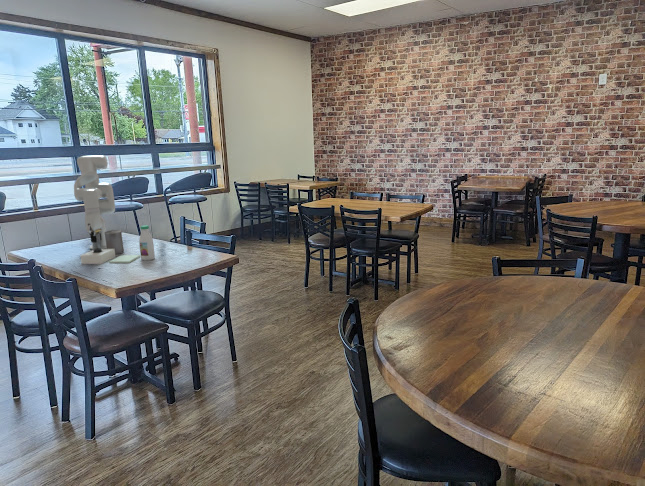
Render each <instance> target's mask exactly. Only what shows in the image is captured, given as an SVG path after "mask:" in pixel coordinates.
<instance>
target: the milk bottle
mask: <svg viewBox="0 0 645 486" xmlns="http://www.w3.org/2000/svg"><path fill="white" fill-rule="evenodd" d="M138 239H139V242H138V243H139V252H140V259H141V260H142V261H150V260H151V261H152V260H154V259H155V257H156V255H155V244H154V239H153V236H152V234H151V233H150V226H149V225H147V224H145V225H140V236H139V238H138Z"/></svg>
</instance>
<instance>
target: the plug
mask: <svg viewBox="0 0 645 486" xmlns="http://www.w3.org/2000/svg"><path fill="white" fill-rule="evenodd" d="M92 230H93V229H92ZM100 231H101V230H100V229H98V230H95V236H96V238H97V242H91V244H92V243H93V249H92V250H93V251H94V252H102V248H101V240H100ZM91 232H93V231H91Z"/></svg>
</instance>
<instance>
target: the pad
mask: <svg viewBox="0 0 645 486" xmlns="http://www.w3.org/2000/svg"><path fill="white" fill-rule="evenodd" d="M139 258H141V254H138V255H137V254H133V255H127V254H125V255H119V256H117V257H114V258H112V259H110V260H108V263H109V264H131V263H132V262H134V261H136V260H138V259H139Z"/></svg>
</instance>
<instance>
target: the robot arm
mask: <svg viewBox="0 0 645 486" xmlns="http://www.w3.org/2000/svg"><path fill="white" fill-rule="evenodd" d="M108 162H109V161H108V159H107V157H106V156H105V155H82V156H78V157H77V159H76V163H77V167H78V169H79V170H80V172H81V175H80V176H78V177H77V179H76V180H75V181H74V184H73V194H74V195H73V196H74V198H75V200H76V201H78V202H83V206H84V212H85V214H84V215H85V216H84V223H85V231H87V233H88V235H89V236H90V242H91V245H90V246H89V249H90V250H93V243H92V242H97V238H96V236H95V230H98V229H100V230H101V231H100V240H101V248H102V249H107V247H106V239H105V232H106V231H107V226H106V220H105V218H103V217H102V216H101V215H106V214H107V215H111V214H113V213H115V212H116V204H115V196H114V188H113V186H112V184H111V183H109V182H100V177H99V174H98V170H106V169H108V164H109V163H108ZM103 198H104V199H103ZM92 229H93V230H92ZM91 231H93V232H91Z"/></svg>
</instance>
